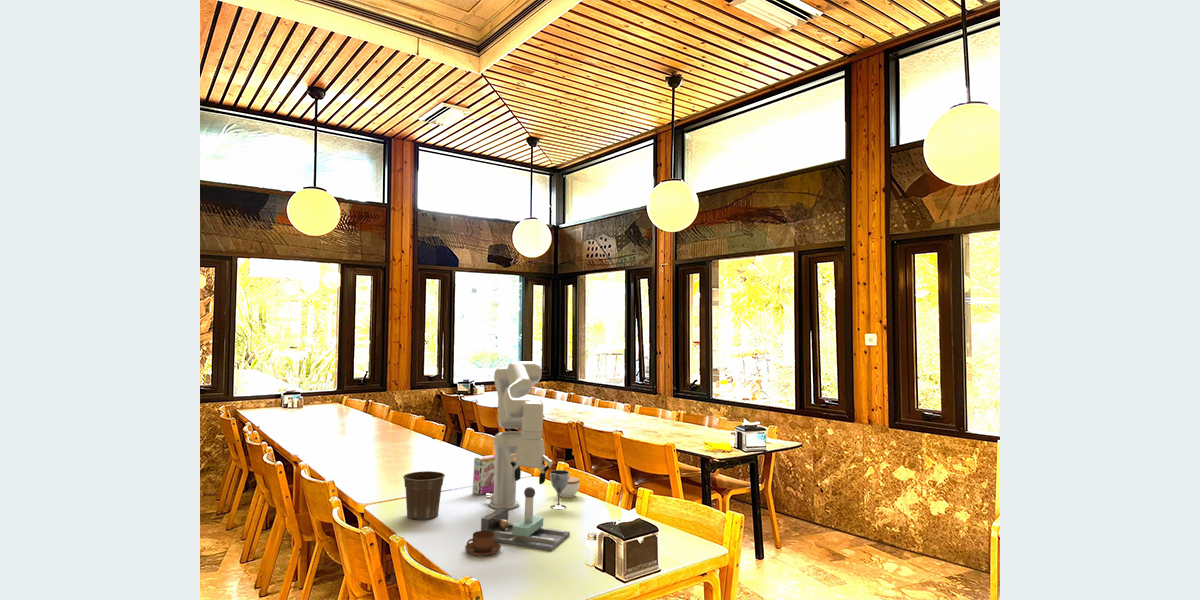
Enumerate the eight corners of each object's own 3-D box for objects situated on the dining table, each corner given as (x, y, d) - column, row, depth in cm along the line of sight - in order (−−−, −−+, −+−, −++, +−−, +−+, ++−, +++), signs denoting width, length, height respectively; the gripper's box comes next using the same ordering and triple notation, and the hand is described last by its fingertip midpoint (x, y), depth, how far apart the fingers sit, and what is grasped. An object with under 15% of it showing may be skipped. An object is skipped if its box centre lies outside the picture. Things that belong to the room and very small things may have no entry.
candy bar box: (479, 495, 283) (481, 459, 284) (472, 493, 286) (473, 457, 287) (497, 491, 292) (498, 456, 293) (489, 489, 295) (491, 454, 296)
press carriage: (512, 534, 222) (514, 490, 222) (528, 523, 235) (530, 482, 236) (527, 536, 220) (529, 492, 221) (543, 525, 233) (544, 483, 234)
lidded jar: (583, 495, 290) (584, 475, 291) (570, 500, 281) (571, 479, 282) (564, 491, 296) (565, 471, 296) (551, 496, 287) (552, 475, 287)
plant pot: (393, 515, 250) (395, 474, 251) (428, 507, 261) (430, 469, 262) (414, 524, 239) (417, 482, 239) (450, 516, 250) (452, 476, 251)
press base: (479, 540, 223) (479, 519, 224) (501, 526, 240) (502, 506, 241) (551, 551, 215) (552, 529, 215) (569, 535, 232) (570, 515, 232)
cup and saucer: (484, 561, 204) (484, 542, 204) (457, 553, 210) (458, 534, 210) (507, 551, 214) (508, 533, 214) (481, 544, 220) (482, 526, 220)
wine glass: (570, 505, 272) (571, 471, 273) (563, 510, 264) (564, 474, 265) (553, 503, 275) (554, 469, 275) (546, 508, 267) (547, 472, 268)
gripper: (506, 434, 228) (503, 481, 228) (549, 439, 223) (547, 487, 223) (514, 431, 235) (512, 476, 235) (557, 435, 230) (555, 482, 230)
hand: (529, 481), depth 229 cm, fingers open, 9 cm apart
